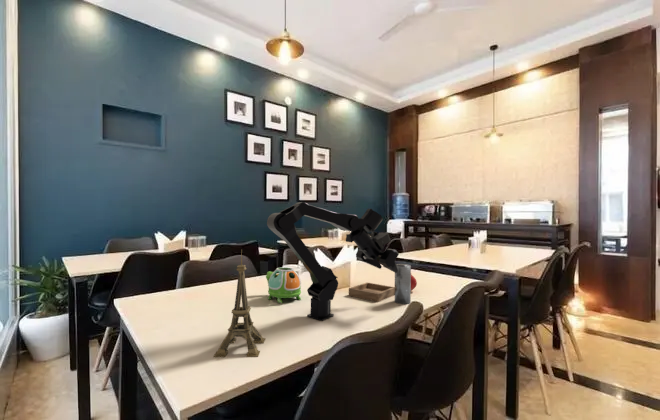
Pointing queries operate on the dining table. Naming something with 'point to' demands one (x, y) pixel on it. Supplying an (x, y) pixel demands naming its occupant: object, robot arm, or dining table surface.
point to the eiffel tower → (241, 328)
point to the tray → (372, 291)
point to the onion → (413, 282)
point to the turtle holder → (283, 284)
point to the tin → (403, 284)
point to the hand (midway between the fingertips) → (388, 269)
